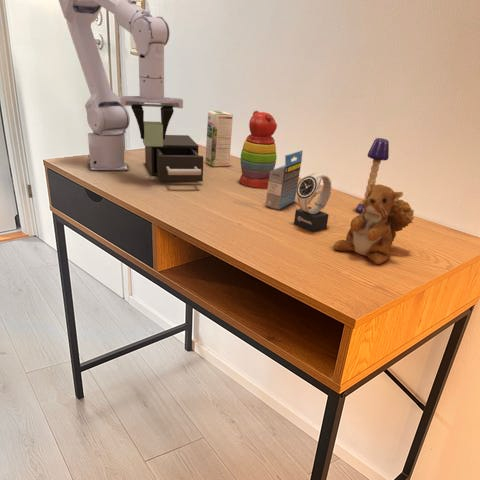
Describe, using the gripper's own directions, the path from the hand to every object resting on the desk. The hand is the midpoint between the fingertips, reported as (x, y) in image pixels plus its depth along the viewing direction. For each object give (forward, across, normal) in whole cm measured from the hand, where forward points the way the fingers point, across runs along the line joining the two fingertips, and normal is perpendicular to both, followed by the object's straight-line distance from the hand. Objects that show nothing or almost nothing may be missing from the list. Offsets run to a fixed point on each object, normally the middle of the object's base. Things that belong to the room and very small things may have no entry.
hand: (152, 138), depth 121 cm
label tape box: (+11, +28, -20) cm, 36 cm away
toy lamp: (+11, +47, -27) cm, 55 cm away
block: (+1, 0, 0) cm, 1 cm away
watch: (+11, +29, -35) cm, 47 cm away
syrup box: (+11, +21, +18) cm, 30 cm away
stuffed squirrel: (+11, +36, -49) cm, 62 cm away
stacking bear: (+11, +28, -2) cm, 30 cm away
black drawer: (+10, +7, 0) cm, 12 cm away
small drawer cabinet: (+10, +6, +12) cm, 17 cm away
